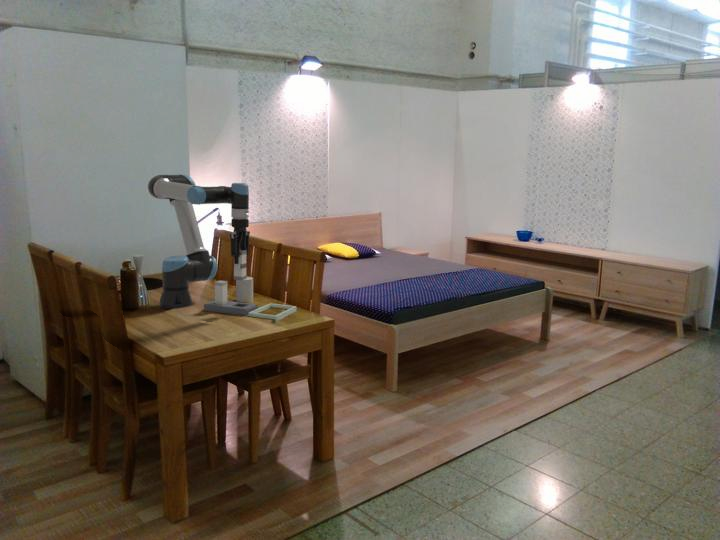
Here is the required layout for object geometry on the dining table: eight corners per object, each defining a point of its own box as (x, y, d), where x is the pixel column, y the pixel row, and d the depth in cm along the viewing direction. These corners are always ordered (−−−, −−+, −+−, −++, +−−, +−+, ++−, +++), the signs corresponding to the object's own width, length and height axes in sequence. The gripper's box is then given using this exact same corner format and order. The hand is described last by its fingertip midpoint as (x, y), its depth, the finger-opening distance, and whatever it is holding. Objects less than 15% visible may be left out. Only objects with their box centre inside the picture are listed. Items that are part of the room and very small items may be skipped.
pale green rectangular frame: (248, 318, 270) (248, 312, 269) (269, 308, 288) (269, 303, 288) (276, 321, 265) (276, 316, 265) (296, 311, 284) (296, 306, 283)
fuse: (214, 309, 278) (214, 282, 276) (219, 307, 282) (219, 280, 280) (222, 310, 277) (222, 282, 275) (227, 308, 281) (227, 281, 279)
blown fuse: (233, 279, 273) (233, 250, 270) (238, 277, 276) (238, 249, 274) (241, 280, 271) (241, 251, 269) (246, 278, 275) (246, 250, 273)
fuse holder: (204, 312, 277) (203, 303, 276) (216, 307, 286) (216, 299, 286) (246, 317, 270) (246, 309, 269) (257, 312, 279) (257, 304, 279)
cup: (241, 304, 294) (241, 280, 292) (233, 301, 300) (233, 277, 298) (256, 302, 299) (256, 278, 297) (247, 299, 305) (247, 276, 303)
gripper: (237, 220, 260) (237, 273, 264) (257, 217, 276) (256, 267, 280) (222, 219, 262) (222, 272, 266) (242, 216, 278) (242, 266, 282)
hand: (240, 270), depth 273 cm, fingers closed on blown fuse, 4 cm apart
